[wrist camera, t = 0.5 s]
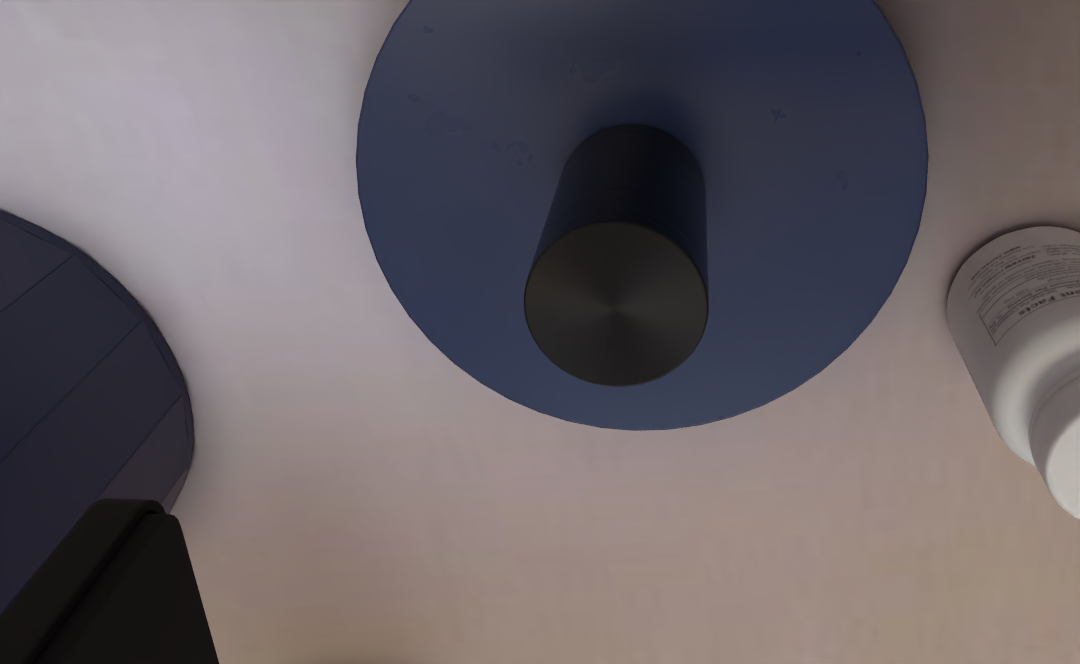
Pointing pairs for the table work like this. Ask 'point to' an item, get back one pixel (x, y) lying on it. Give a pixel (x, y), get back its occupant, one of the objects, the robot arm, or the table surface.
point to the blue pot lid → (642, 194)
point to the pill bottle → (1026, 347)
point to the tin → (77, 399)
